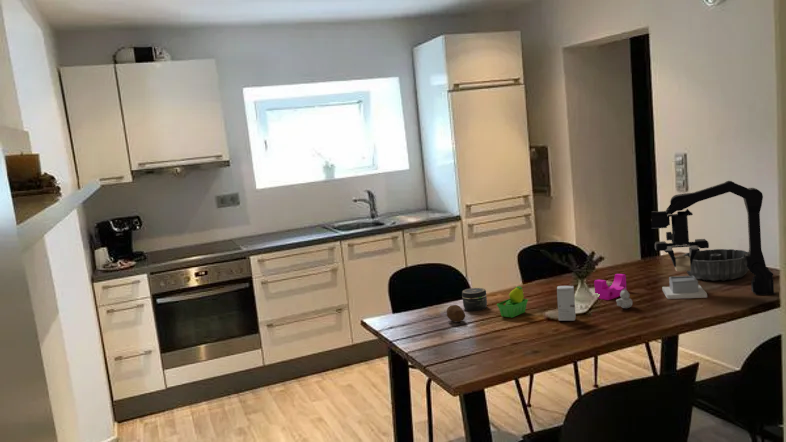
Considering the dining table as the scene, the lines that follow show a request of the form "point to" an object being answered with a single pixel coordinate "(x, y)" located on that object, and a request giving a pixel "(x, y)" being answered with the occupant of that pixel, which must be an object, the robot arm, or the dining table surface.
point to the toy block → (610, 291)
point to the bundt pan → (718, 264)
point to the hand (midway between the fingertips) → (682, 266)
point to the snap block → (682, 263)
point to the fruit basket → (513, 304)
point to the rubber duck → (624, 299)
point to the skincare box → (566, 303)
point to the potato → (455, 313)
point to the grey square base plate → (684, 288)
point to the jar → (474, 299)
